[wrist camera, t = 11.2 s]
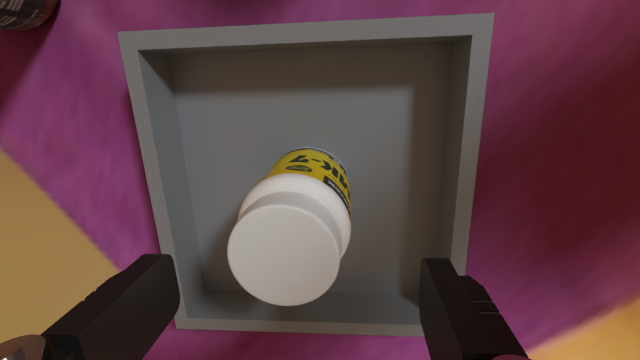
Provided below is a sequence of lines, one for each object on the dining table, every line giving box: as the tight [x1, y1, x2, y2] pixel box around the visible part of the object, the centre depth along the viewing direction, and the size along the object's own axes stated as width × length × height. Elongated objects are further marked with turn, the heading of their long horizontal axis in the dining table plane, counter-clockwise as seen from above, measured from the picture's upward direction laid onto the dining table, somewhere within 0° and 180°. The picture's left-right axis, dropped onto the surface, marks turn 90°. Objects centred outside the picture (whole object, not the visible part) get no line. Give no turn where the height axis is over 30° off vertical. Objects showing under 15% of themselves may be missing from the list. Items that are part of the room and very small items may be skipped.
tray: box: [117, 13, 494, 337], centre depth 18 cm, size 17×17×4 cm
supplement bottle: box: [227, 147, 351, 306], centre depth 15 cm, size 5×5×8 cm
